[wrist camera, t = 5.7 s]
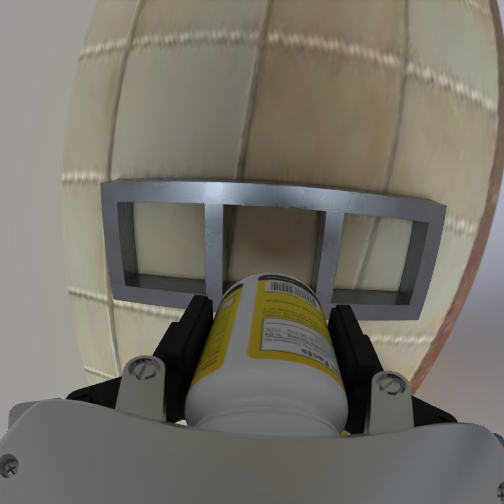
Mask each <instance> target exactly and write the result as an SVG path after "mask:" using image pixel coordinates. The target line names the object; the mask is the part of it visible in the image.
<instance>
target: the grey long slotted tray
mask: <svg viewBox="0 0 504 504" xmlns="http://www.w3.org/2000/svg"><path fill="white" fill-rule="evenodd" d="M101 202H102V216H103V227H104V237H105V246H106V254H107V262H108V269H109V275H110V282H111V288H112V293H113V299H115V300H122V301H128V302H135V303H142V304H149V305H156V306H164V307H172V308H180V309H187V307H188V305H189V303H190V302H191V300H192V298H193V296H194V295H205V296H208V298H209V299H211V300H213V312H217V309H218V306H219V304H220V301H221V299H222V297H223V296H224V294H225V293H226V292H227V291H228V290H229V289H230V288H231V287H232V286H233V285H234V284H236V283H232V282H227V267H228V214H229V204H230V205H249V206H266V207H282V208H296V209H308V210H320V217H319V227H318V236H317V245H316V253H315V261H314V269H313V276H312V283H311V290H312V291H313V292H314V293H315V295H316V296H317V298H318V299H319V302H320V304H321V307H322V310H323V313H324V317H325V320H329V317H330V312H331V308H335V307H336V305H337V304H340V305H350V306H351V308H352V310H353V312H354V315H355V317H356V319H357V320H419V317H420V314H421V311H422V308H423V305H424V302H425V298H426V295H427V292H428V288H429V285H430V281H431V278H432V274H433V270H434V266H435V262H436V258H437V254H438V249H439V245H440V240H441V235H442V230H443V225H444V219H445V213H446V207H447V206H446V205H443V204H441V203H438V202H435V201H433V200H429V199H423V198H417V197H411V196H404V195H398V194H391V193H384V192H377V191H369V190H361V189H353V188H344V187H335V186H325V185H314V184H303V183H290V182H276V181H259V180H238V179H204V178H148V179H116V180H112V181H108V182H104V183H101ZM132 202H172V203H205V280H196V279H185V278H175V277H164V276H154V275H145V274H138V271H137V262H136V252H135V241H134V228H133V211H132ZM344 213H353V214H363V215H372V216H381V217H390V218H398V219H406V220H414V223H413V229H412V234H411V239H410V245H409V249H408V254H407V259H406V263H405V268H404V272H403V276H402V280H401V284H400V288H399V291H372V290H347V289H333V288H334V282H335V276H336V270H337V264H338V257H339V251H340V244H341V237H342V229H343V221H344Z"/></svg>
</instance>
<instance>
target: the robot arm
mask: <svg viewBox="0 0 504 504" xmlns="http://www.w3.org/2000/svg"><path fill="white" fill-rule="evenodd" d="M212 323H213V300H211V299H209V298H208V296H205V295H194V296H193V298H192V300H191V302H190V303H189V305H188V307H187V309H186V310H185V312H184V314H183V316H182V318H181V319H180V321H179V322H172V323H171V324H170V326H169V328H168V329H167V331H166V333H165V335H164V336H163V338H162V340H161V341H160V343H159V345H158V347H157V348H156V350H155V352H154V353H153V355H152V356H148V355H144V356H138V357H135V358H133V359H131V360H129V361H128V362H127V363H126V365H125V367H124V371H123V375H122V376H121V377H118V378H115V379H111V380H108V381H105V382H102V383H99V384H95V385H92V386H89V387H85V388H82V389H78V390H76V391H73V392H72V393H70V394H69V395H68V396H67V398H66V399H61V398H55V399H49V400H42V401H34V402H26V403H20V404H17V405H15V406H14V407H13V408H12V409H11V410H10V413H9V427H8V429H9V430H8V431H7V433H6V434H5V435H4V437H3V438H2V439H1V441H0V504H504V439H503V437H502V436H500V435H498V434H496V433H492V432H491V431H490V430H489V429H488V428H486V427H484V426H481V425H478V424H473V423H463V422H457V420H456V419H455V418H454V417H453V416H452V415H451V414H449V413H447V412H445V411H443V410H441V409H439V408H437V407H434V406H432V405H430V404H428V403H426V402H424V401H422V400H420V399H418V398H416V397H414V396H412V395H411V390H410V385H409V382H408V380H407V379H406V378H405V377H404V376H403V375H401V374H399V373H397V372H393V371H384V370H383V368H382V366H381V363H380V361H379V359H378V356H377V354H376V352H375V350H374V347H373V345H372V343H371V341H370V338H369V337H368V335H366V334H364V335H363V333H362V330H361V328H360V326H359V323H358V321H357V319H356V317H355V315H354V312H353V310H352V308H351V306H350V305H340V304H337V305H336V307H335V308H331V312H330V317H329V322H328V330H329V334H330V337H331V341H332V344H333V348H334V351H335V355H336V358H337V362H338V366H339V369H340V373H341V377H342V381H343V385H344V389H345V393H346V398H347V403H348V417H347V422H346V425H345V427H344V430H345V431H347V432H349V433H348V435H335V436H274V435H257V434H245V433H235V432H226V431H218V430H210V429H203V428H197V427H191V426H185V425H180V424H177V423H176V422H178V421H180V420H186V419H185V401H186V397H187V394H188V391H189V388H190V385H191V382H192V379H193V377H194V374H195V371H196V368H197V365H198V362H199V359H200V356H201V354H202V351H203V348H204V345H205V343H206V340H207V337H208V334H209V331H210V329H211V326H212Z"/></svg>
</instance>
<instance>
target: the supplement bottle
mask: <svg viewBox="0 0 504 504" xmlns="http://www.w3.org/2000/svg"><path fill="white" fill-rule="evenodd" d="M347 417H348V403H347V398H346V393H345V389H344V385H343V381H342V377H341V373H340V369H339V366H338V362H337V358H336V355H335V351H334V348H333V344H332V341H331V337H330V334H329V330H328V327H327V323H326V320H325V317H324V313H323V310H322V307H321V304H320V302H319V299H318V298H317V296H316V295H315V293H314V292H313V291H312V290H311V288H309V287H308V286H307V285H306V284H305V283H304V282H302V281H301V280H299V279H297V278H295V277H293V276H290V275H287V274H283V273H276V272H265V273H258V274H254V275H251V276H248V277H246V278H244V279H242V280H240V281H239V282H237V283H236V284H234V285H233V286H232V287H231V288H230V289H229V290H228V291H227V292H226V293H225V294H224V296H223V297H222V299H221V301H220V304H219V306H218V309H217V312H216V314H215V317H214V320H213V323H212V326H211V329H210V331H209V334H208V337H207V340H206V343H205V345H204V348H203V351H202V354H201V356H200V359H199V362H198V365H197V368H196V371H195V374H194V377H193V379H192V382H191V385H190V388H189V391H188V394H187V397H186V401H185V419H186V422H187V425H188V426H191V427H197V428H203V429H210V430H218V431H226V432H235V433H245V434H257V435H274V436H335V435H341V433H342V431H343V430H344V427H345V425H346V422H347Z"/></svg>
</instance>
